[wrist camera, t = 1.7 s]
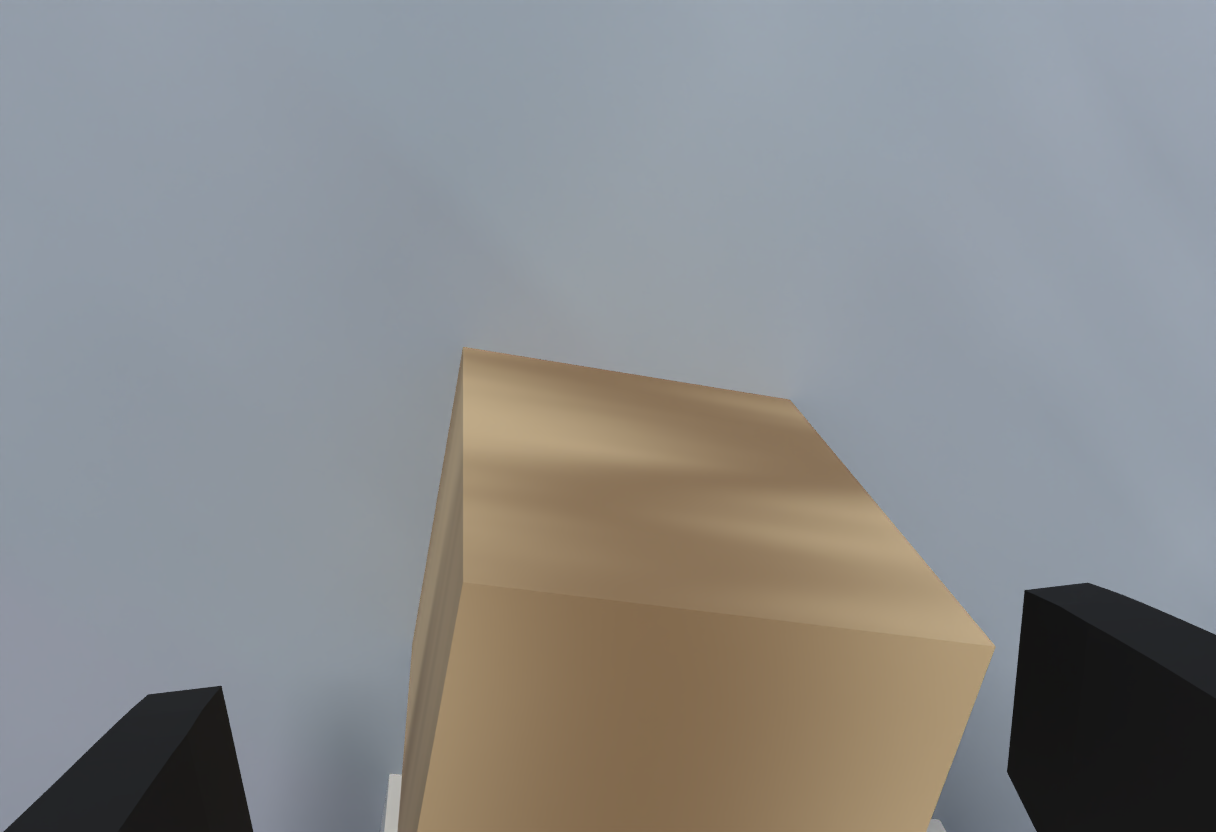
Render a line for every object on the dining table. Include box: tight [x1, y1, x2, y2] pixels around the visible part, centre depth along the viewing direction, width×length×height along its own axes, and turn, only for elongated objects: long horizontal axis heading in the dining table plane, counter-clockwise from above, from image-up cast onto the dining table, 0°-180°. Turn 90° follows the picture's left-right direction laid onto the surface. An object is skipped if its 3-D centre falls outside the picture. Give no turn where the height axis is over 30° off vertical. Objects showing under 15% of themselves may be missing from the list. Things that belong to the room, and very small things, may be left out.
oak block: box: [397, 347, 995, 832], centre depth 11 cm, size 4×4×6 cm
